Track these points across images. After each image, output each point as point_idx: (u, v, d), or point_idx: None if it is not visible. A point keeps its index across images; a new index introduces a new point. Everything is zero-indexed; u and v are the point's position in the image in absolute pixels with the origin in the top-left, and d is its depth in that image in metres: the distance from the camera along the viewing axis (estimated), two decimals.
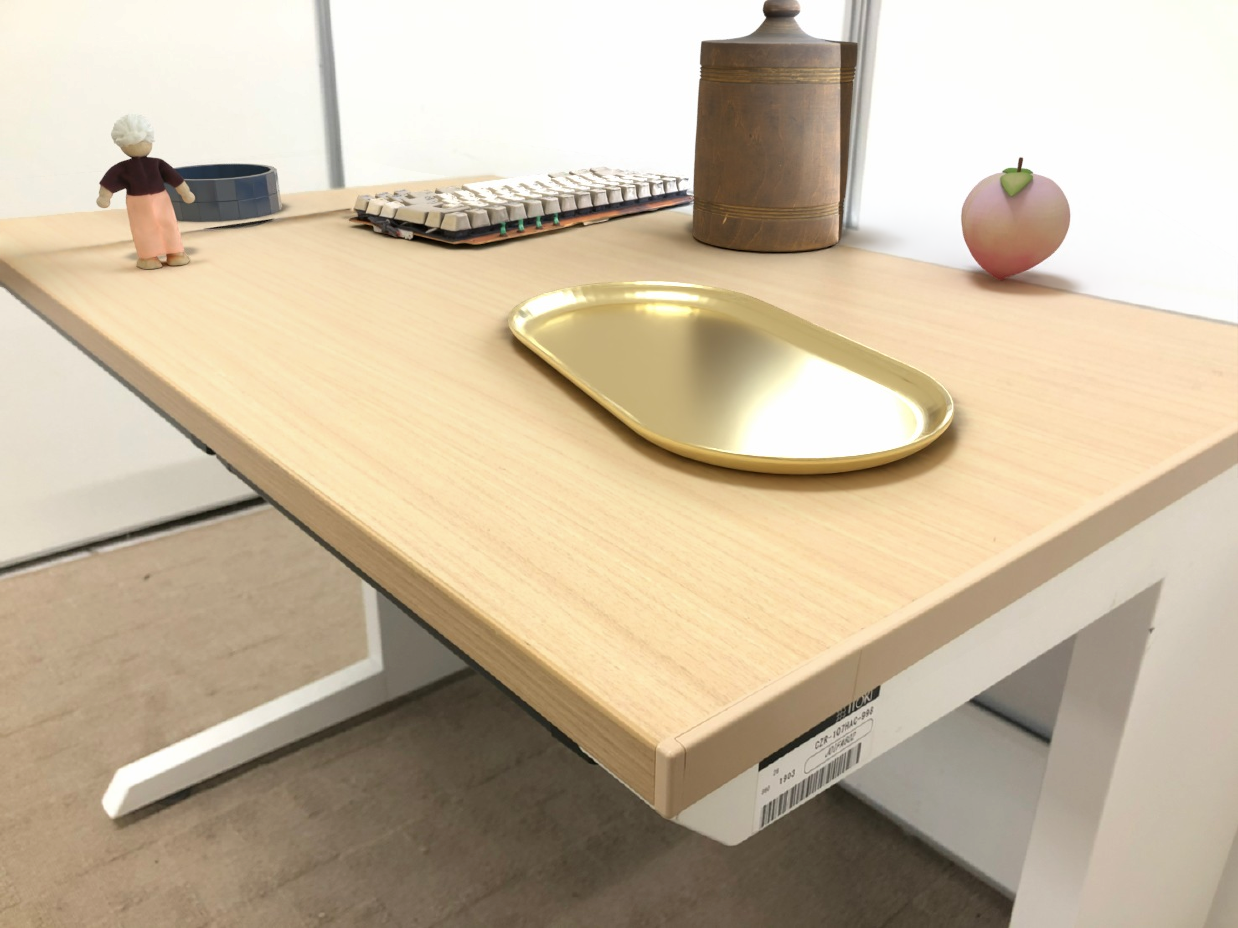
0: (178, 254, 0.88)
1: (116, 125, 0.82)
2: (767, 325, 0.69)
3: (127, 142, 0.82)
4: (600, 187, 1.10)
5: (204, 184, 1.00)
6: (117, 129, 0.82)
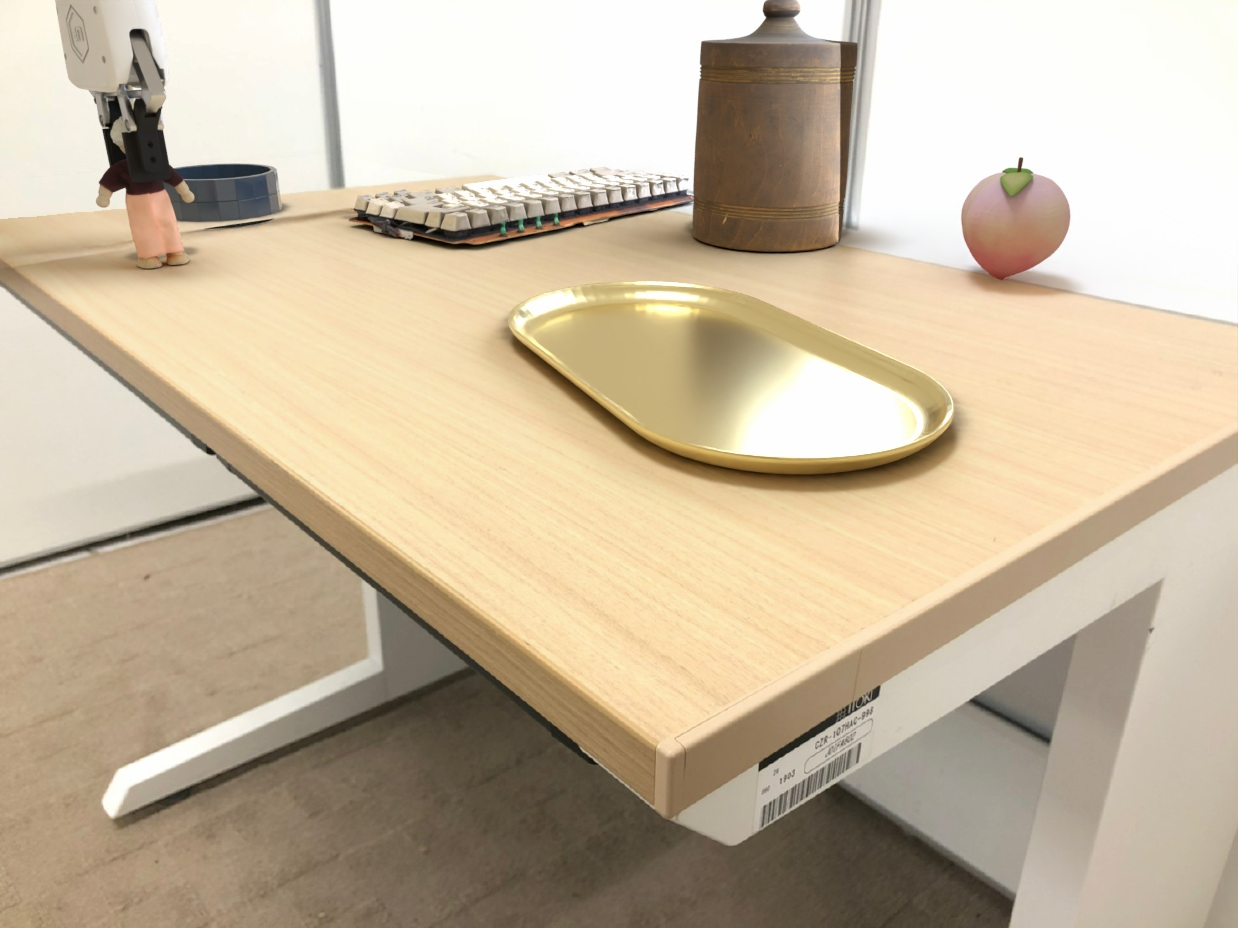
0: (178, 253, 0.88)
1: (115, 124, 0.82)
2: (767, 325, 0.69)
3: None
4: (600, 187, 1.10)
5: (204, 184, 1.00)
6: (116, 128, 0.82)
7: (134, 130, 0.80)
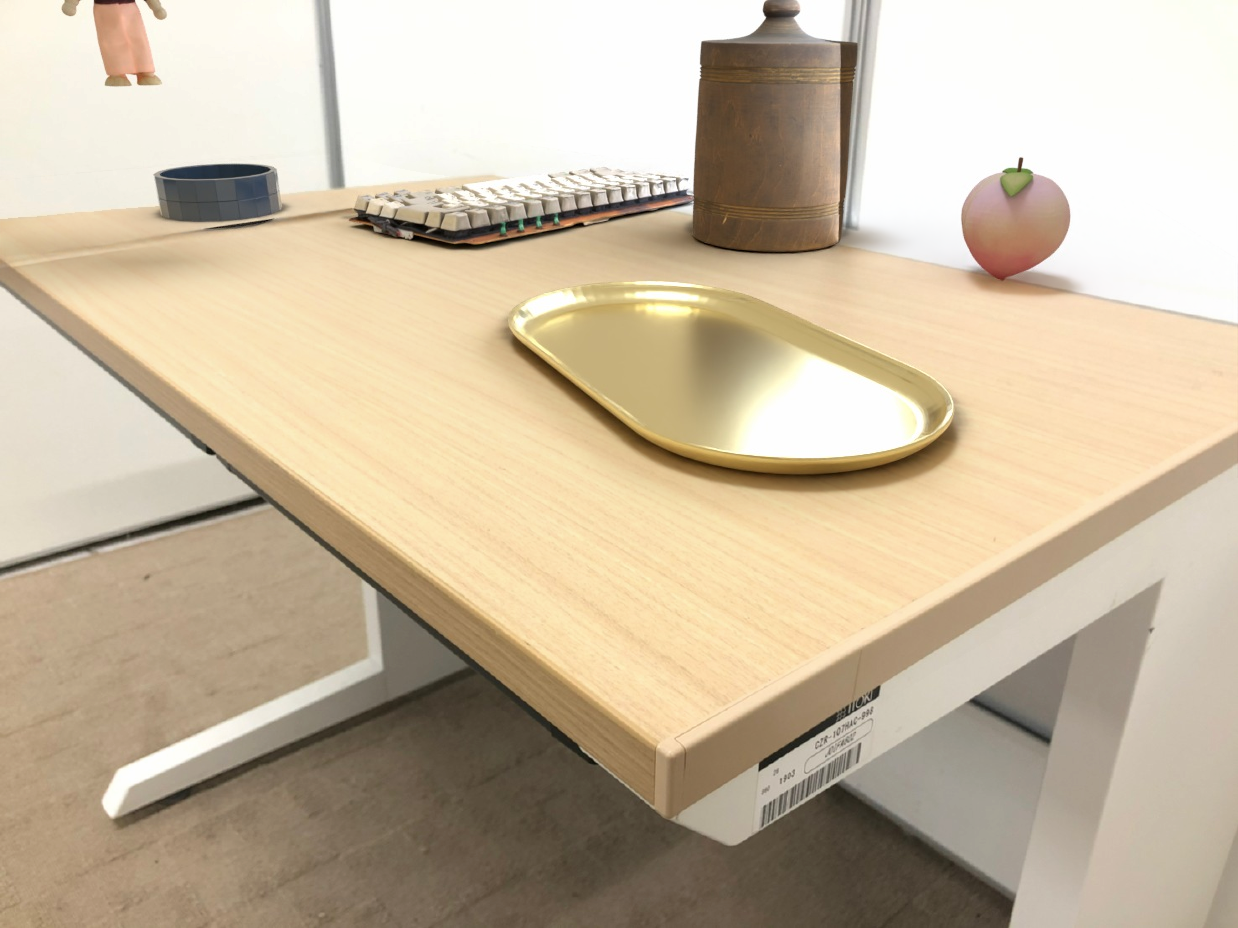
0: (149, 74, 0.84)
1: None
2: (767, 325, 0.69)
3: None
4: (600, 187, 1.10)
5: (204, 184, 1.00)
6: None
7: None
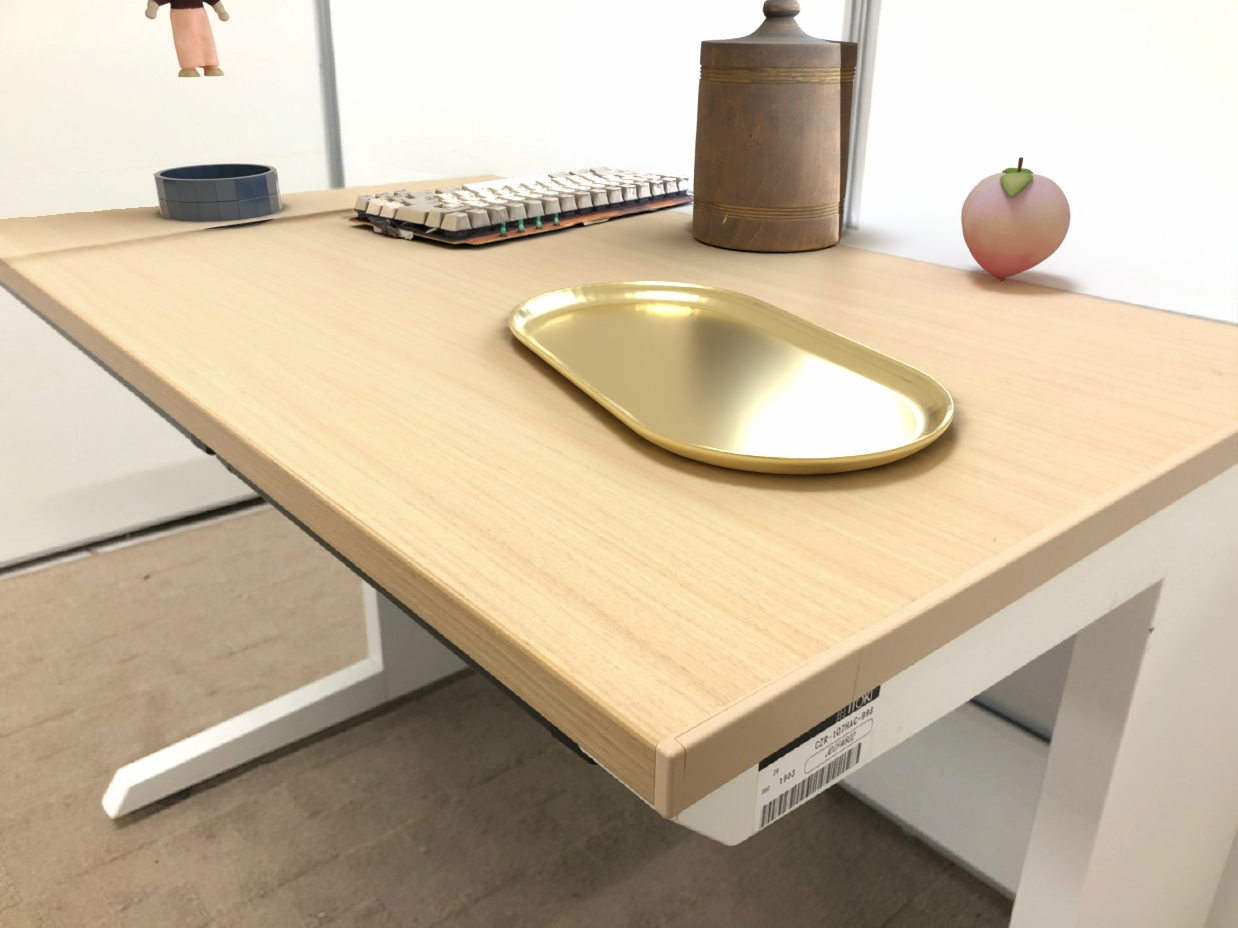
0: (214, 67, 1.01)
1: None
2: (767, 325, 0.69)
3: None
4: (600, 187, 1.10)
5: (204, 184, 1.00)
6: None
7: None
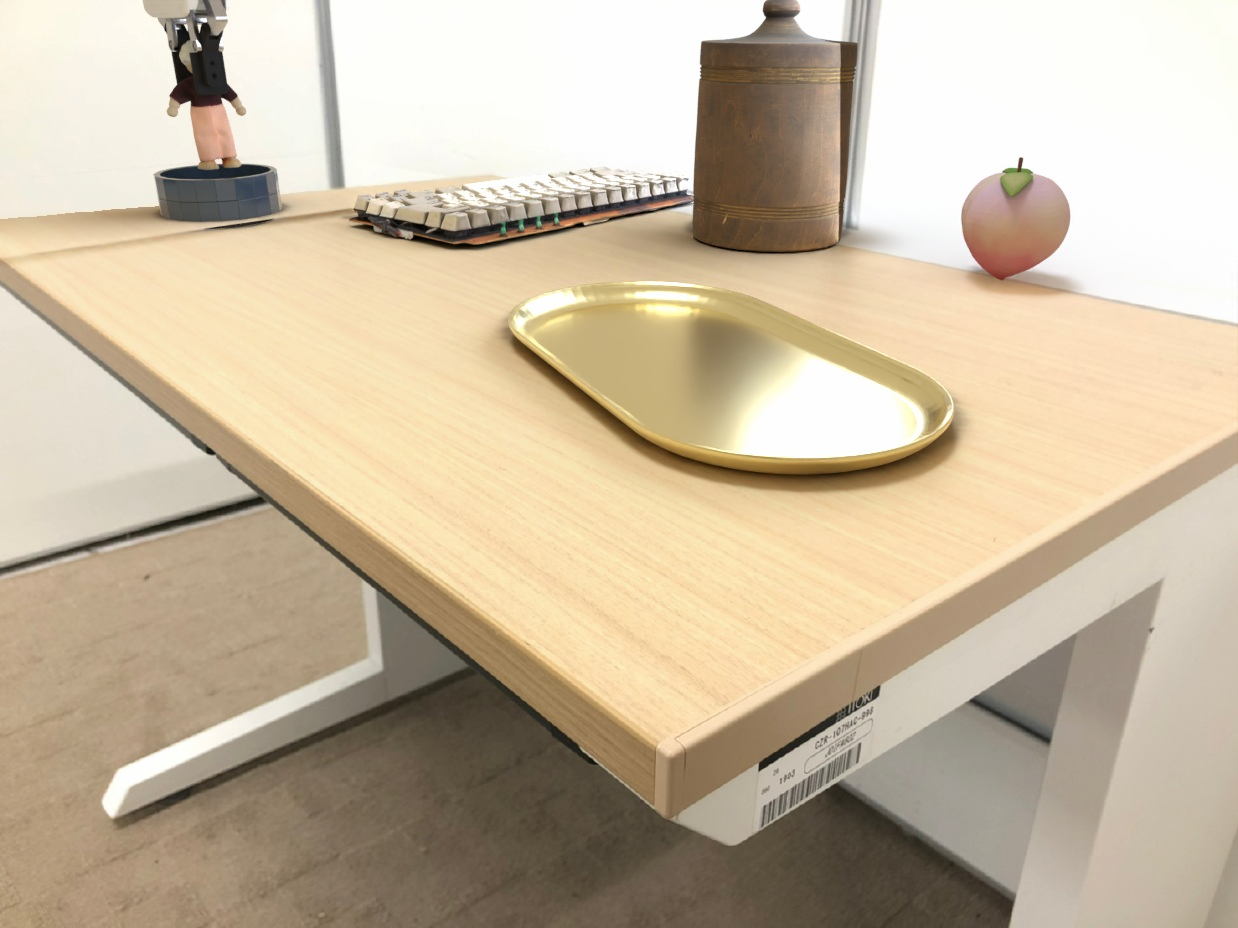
0: (232, 159, 1.05)
1: (183, 47, 1.00)
2: (767, 325, 0.69)
3: None
4: (600, 187, 1.10)
5: (204, 184, 1.00)
6: (184, 50, 1.00)
7: (200, 50, 0.98)
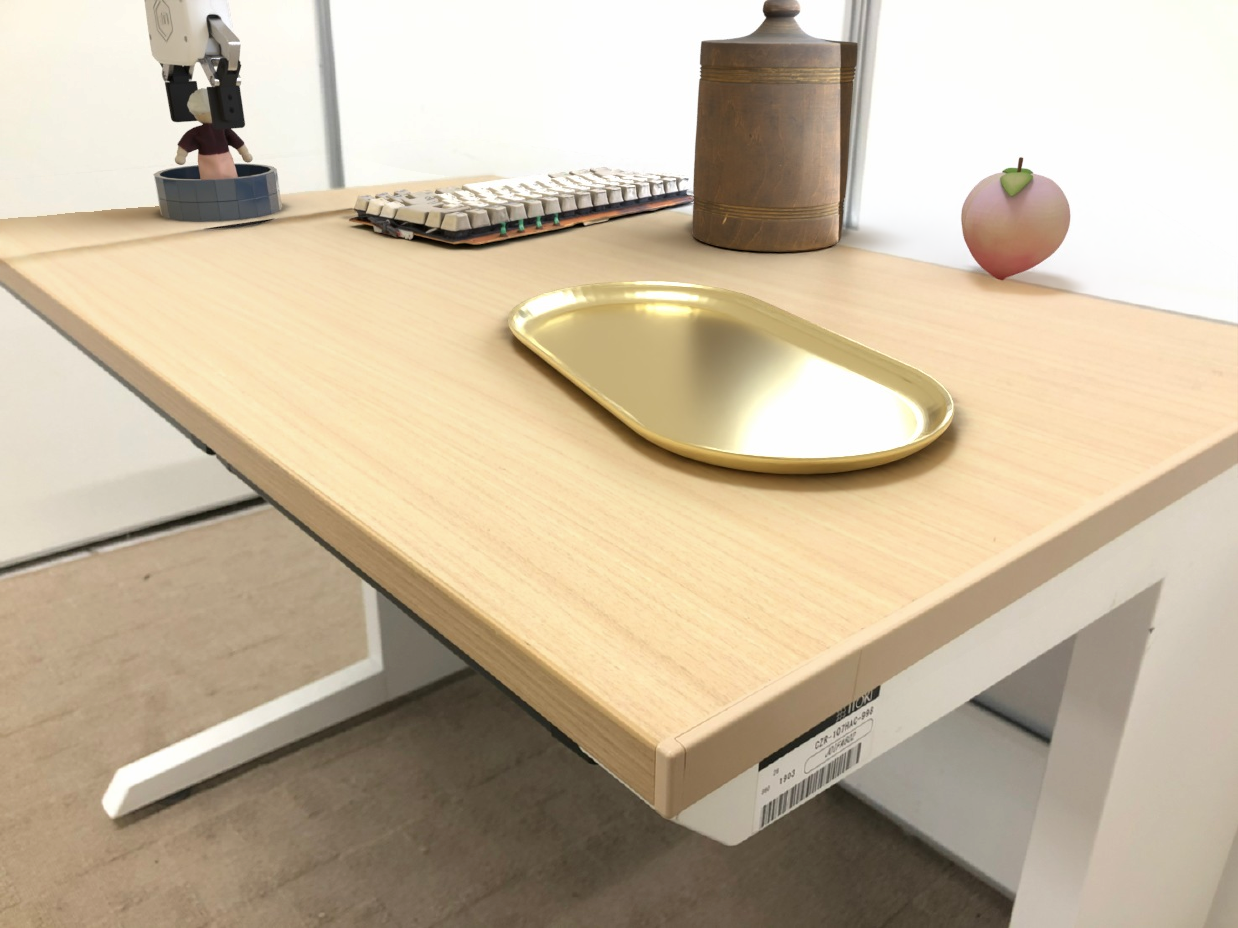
0: None
1: (192, 97, 1.02)
2: (767, 325, 0.69)
3: (201, 110, 1.01)
4: (600, 187, 1.10)
5: (204, 184, 1.00)
6: (193, 100, 1.01)
7: (217, 85, 0.97)
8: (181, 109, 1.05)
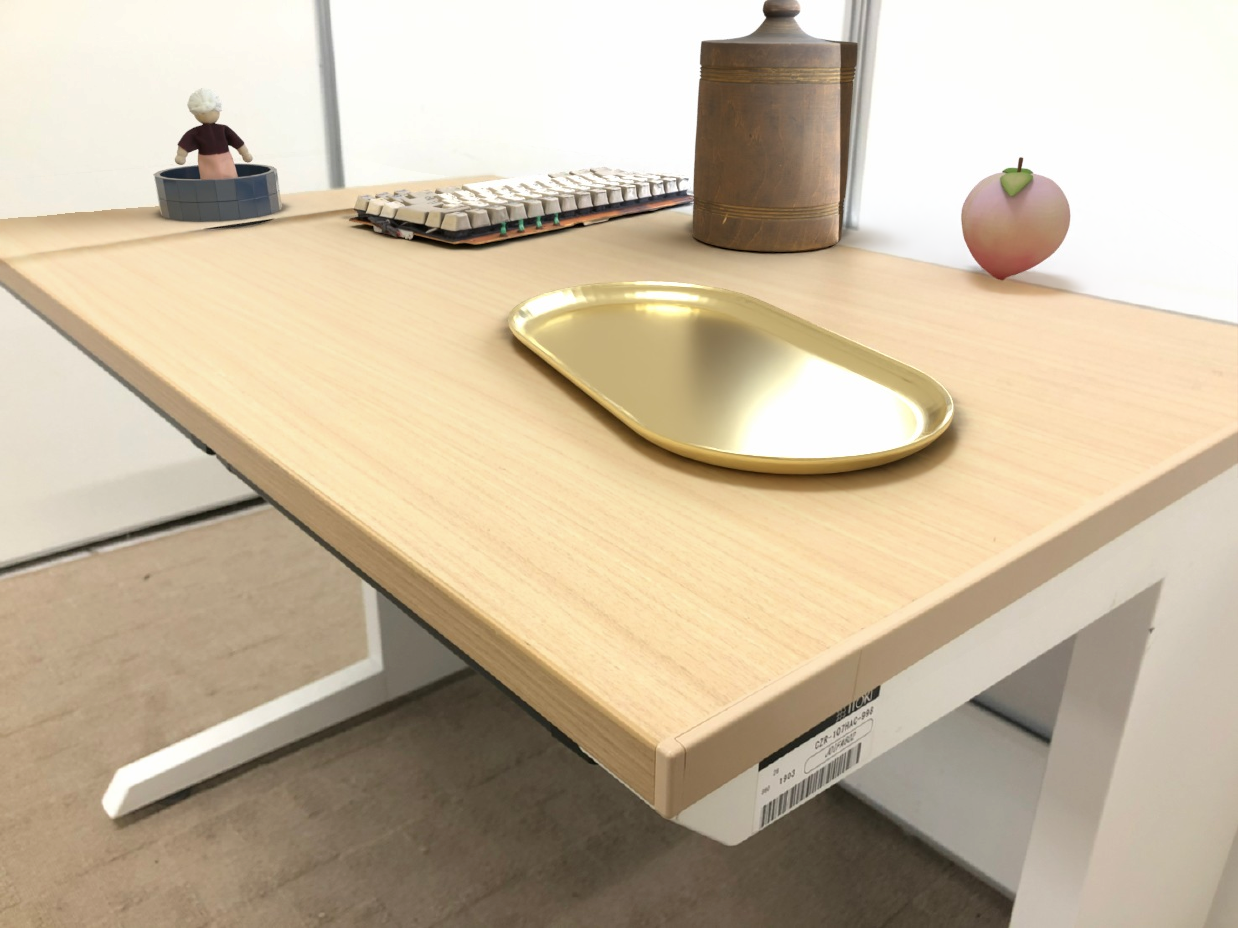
0: None
1: (192, 97, 1.02)
2: (767, 325, 0.69)
3: (201, 110, 1.01)
4: (600, 187, 1.10)
5: (204, 184, 1.00)
6: (193, 100, 1.01)
7: None
8: None
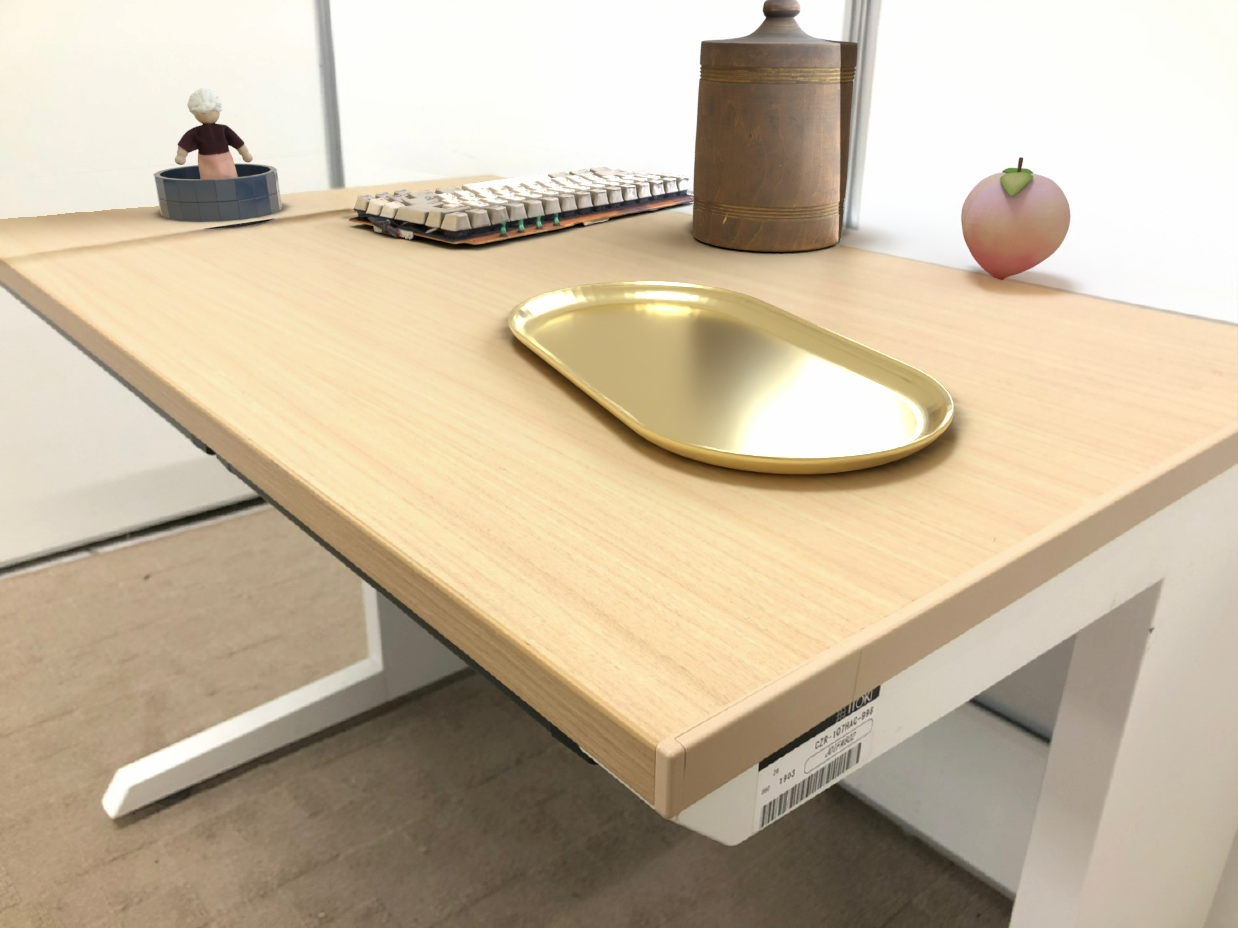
0: None
1: (192, 97, 1.02)
2: (767, 325, 0.69)
3: (201, 110, 1.01)
4: (600, 187, 1.10)
5: (204, 184, 1.00)
6: (193, 100, 1.01)
7: None
8: None
